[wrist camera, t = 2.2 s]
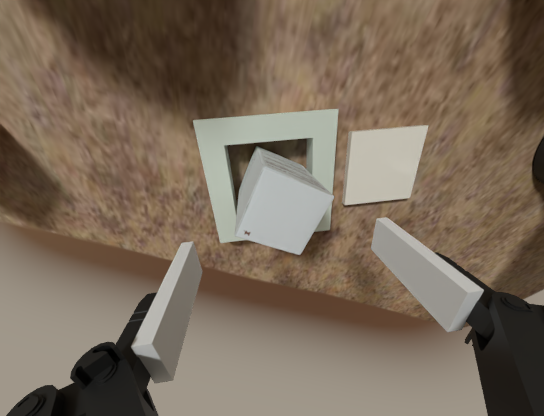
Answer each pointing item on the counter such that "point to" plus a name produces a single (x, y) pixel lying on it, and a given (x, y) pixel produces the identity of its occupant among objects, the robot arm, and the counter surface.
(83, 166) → the counter surface
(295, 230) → the supplement box
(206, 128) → the holder
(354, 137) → the tile
